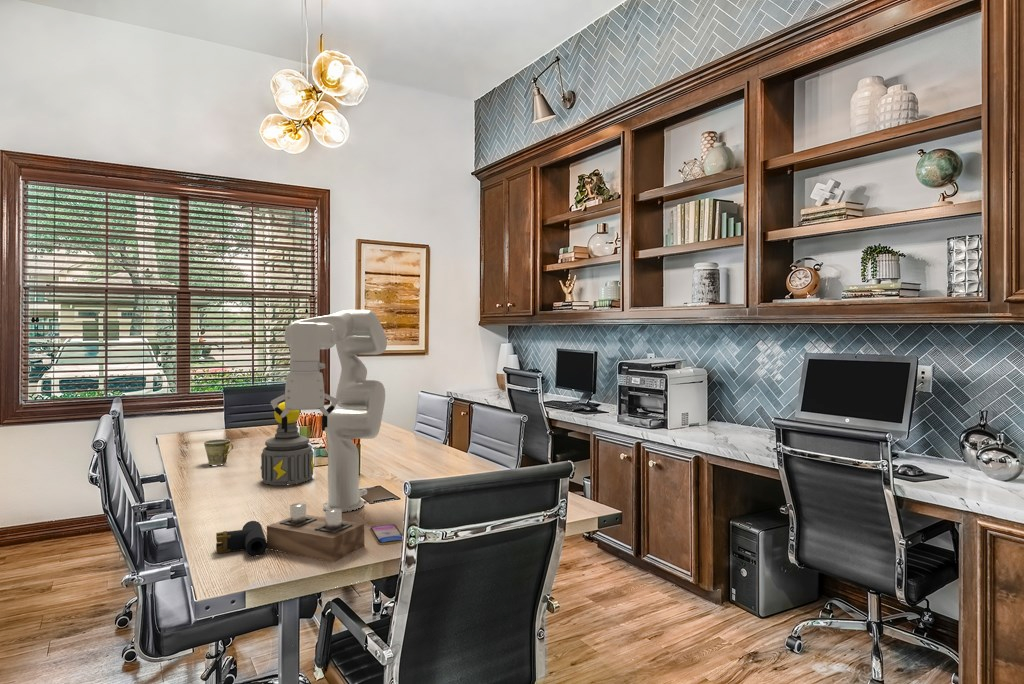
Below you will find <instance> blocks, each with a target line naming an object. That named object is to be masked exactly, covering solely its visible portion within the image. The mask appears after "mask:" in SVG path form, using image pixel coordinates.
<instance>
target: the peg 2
mask: <svg viewBox="0 0 1024 684" xmlns="http://www.w3.org/2000/svg"><path fill="white" fill-rule="evenodd" d="M324 511H325V520H326V529H329V530H333V531H334V530H337V529H339V528H341V527H342V520H343V518H342V515H343V512H342V510H341V509H337V508H334V509H328V510H324Z"/></svg>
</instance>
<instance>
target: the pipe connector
mask: <svg viewBox="0 0 1024 684" xmlns="http://www.w3.org/2000/svg"><path fill="white" fill-rule="evenodd" d="M215 535H216V537H215V539H216V543H215V549H216V554H221V553H223V552H225V553H229V552H234V551H233V550H236V551H242V550H241V549H243V550H246V551H245V552H246V553H247V555H248V556H250V557H252V556H253V557H257V556H256V555H259V556H263V555H264V554H265V553H266V551H267V550H268V549H267V538H266V536H265V532H264V531H263V526H262V525H261V523H260V522H259V521H258V520H250V521H247V522H246V523H245V524H244V525H243V527H242V529H237V530H229V531H228V530H226V531H221V532H216V534H215Z"/></svg>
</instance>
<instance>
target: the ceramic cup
mask: <svg viewBox="0 0 1024 684" xmlns="http://www.w3.org/2000/svg"><path fill="white" fill-rule="evenodd" d="M203 444H204V449H205V452H206V456H207V461H208V466H209V465H221V464H225V463H226V464H227V458H228V454H230V452H231V451H233V449H234V445H233V444H232V443H231V440H230V439H227V438H221V439H220V438H215V439H210V440H209V439H208V440H206V441H203ZM230 446H231V449H230V450H229V448H230Z"/></svg>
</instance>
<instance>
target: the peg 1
mask: <svg viewBox="0 0 1024 684" xmlns="http://www.w3.org/2000/svg"><path fill="white" fill-rule="evenodd" d="M289 512H290V513H289V514H290V516H289V518H290V523H295V524H297V525H298V524H300V523H303V522H305V521H306V514H307V503H304V502H296V503H292V504H290V506H289Z"/></svg>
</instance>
